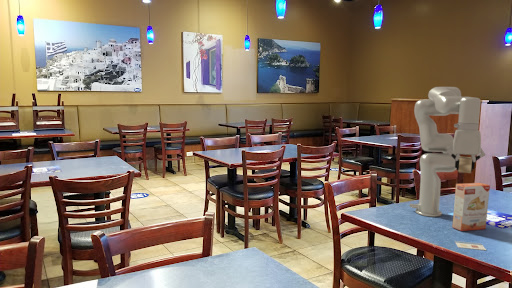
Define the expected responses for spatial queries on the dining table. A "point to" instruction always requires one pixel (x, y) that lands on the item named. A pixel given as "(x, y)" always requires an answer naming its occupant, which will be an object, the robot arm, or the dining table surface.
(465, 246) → the menu card
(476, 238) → the dining table surface
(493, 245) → the dining table surface
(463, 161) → the maple block
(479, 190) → the cracker box
